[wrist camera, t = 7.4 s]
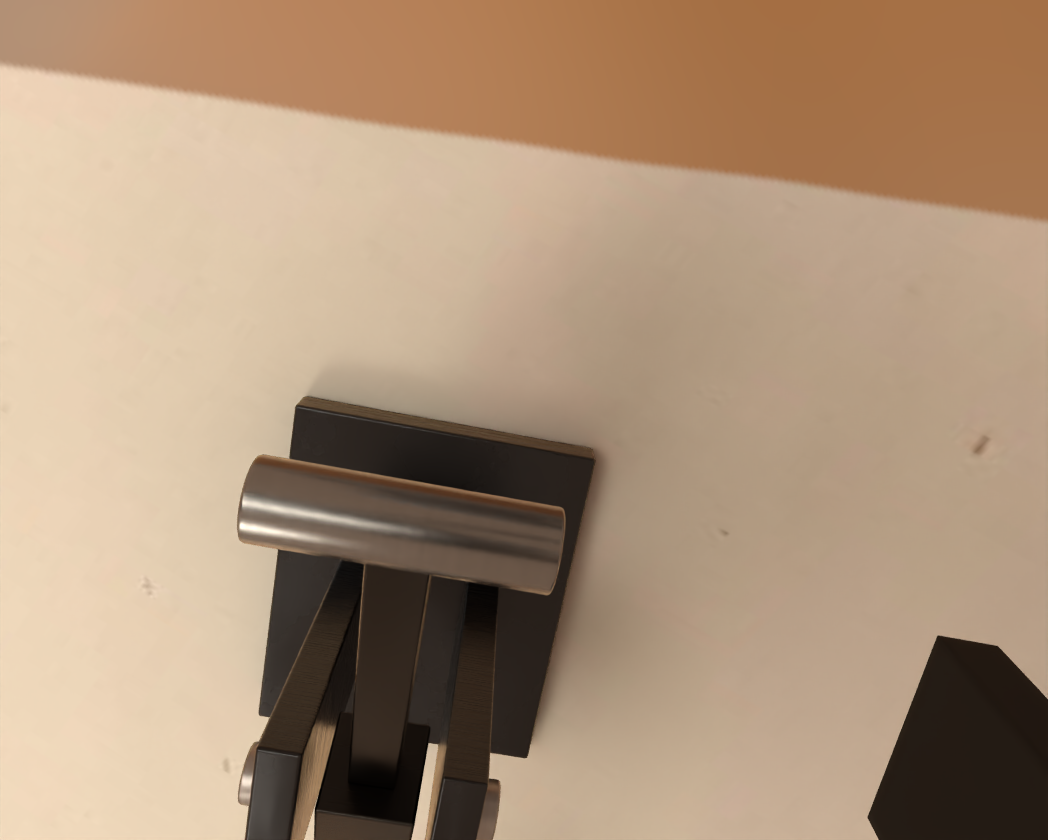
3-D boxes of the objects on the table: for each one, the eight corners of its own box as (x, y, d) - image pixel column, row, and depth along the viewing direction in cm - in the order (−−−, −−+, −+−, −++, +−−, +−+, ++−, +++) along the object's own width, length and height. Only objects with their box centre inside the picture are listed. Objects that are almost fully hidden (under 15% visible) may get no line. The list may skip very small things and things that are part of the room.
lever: (271, 415, 14) (222, 526, 12) (569, 468, 15) (561, 584, 13) (283, 754, 22) (254, 850, 21) (473, 784, 23) (461, 882, 21)
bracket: (303, 395, 29) (146, 566, 17) (593, 447, 30) (643, 650, 18) (267, 696, 33) (113, 1020, 20) (527, 738, 33) (530, 1078, 21)
